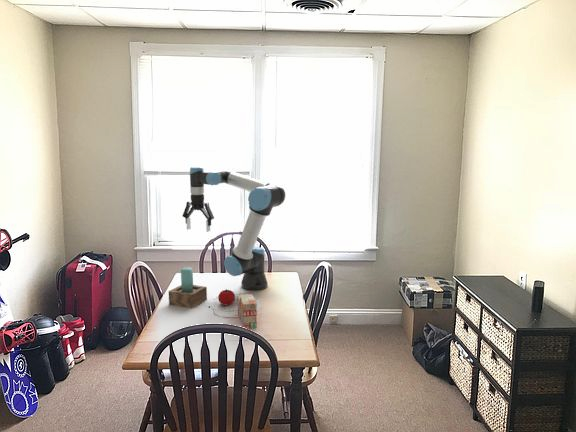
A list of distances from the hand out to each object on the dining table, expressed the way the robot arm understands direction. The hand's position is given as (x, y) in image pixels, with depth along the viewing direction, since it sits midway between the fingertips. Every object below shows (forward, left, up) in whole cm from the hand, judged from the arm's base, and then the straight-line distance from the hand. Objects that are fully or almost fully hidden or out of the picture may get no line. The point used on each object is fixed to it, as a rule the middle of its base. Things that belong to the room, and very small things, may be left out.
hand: (198, 230), depth 291 cm
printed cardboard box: (-53, +39, -32) cm, 73 cm away
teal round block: (-13, +30, -26) cm, 41 cm away
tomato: (-33, +24, -32) cm, 52 cm away
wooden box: (-13, +30, -32) cm, 46 cm away
